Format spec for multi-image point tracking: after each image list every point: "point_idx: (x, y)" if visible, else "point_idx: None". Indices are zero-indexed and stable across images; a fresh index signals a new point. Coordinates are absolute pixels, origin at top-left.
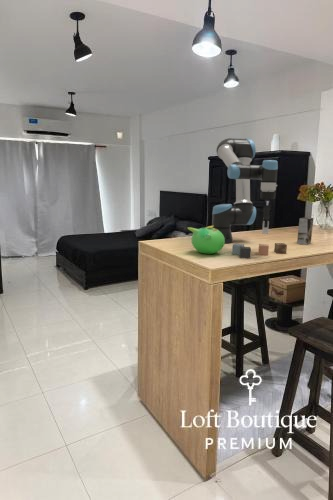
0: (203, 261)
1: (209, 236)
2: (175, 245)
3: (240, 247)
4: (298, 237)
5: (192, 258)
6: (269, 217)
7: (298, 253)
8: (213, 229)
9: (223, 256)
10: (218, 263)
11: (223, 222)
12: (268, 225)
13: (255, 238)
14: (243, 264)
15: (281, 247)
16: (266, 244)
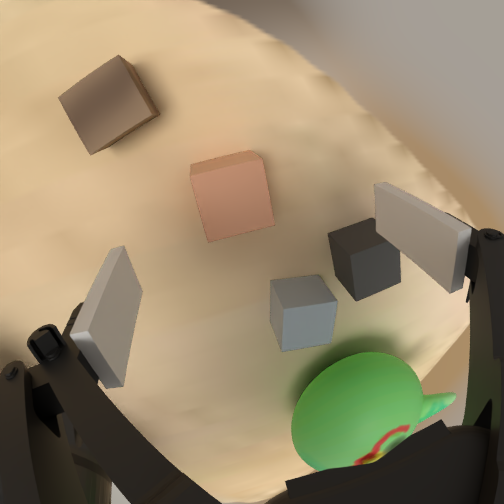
0: (448, 327)
1: (451, 392)
2: (261, 466)
3: (379, 291)
4: None
5: (421, 364)
6: (47, 334)
7: (83, 13)
8: (400, 436)
9: (373, 319)
10: (463, 285)
11: (93, 491)
12: (436, 209)
13: None
14: (463, 213)
15: (140, 89)
16: (198, 190)
